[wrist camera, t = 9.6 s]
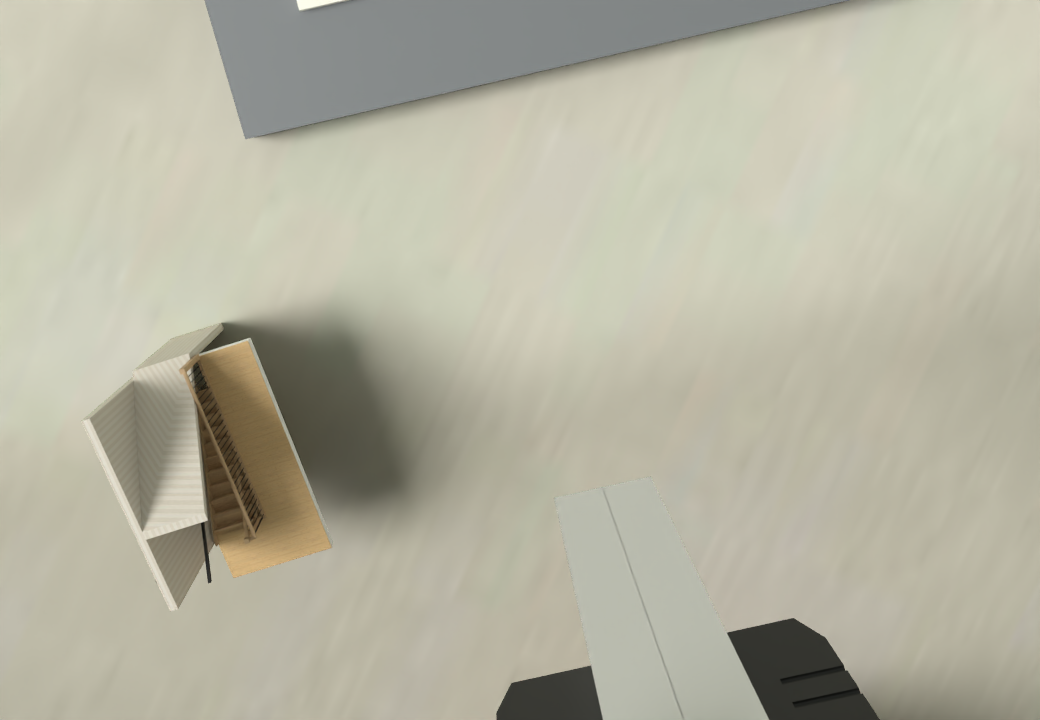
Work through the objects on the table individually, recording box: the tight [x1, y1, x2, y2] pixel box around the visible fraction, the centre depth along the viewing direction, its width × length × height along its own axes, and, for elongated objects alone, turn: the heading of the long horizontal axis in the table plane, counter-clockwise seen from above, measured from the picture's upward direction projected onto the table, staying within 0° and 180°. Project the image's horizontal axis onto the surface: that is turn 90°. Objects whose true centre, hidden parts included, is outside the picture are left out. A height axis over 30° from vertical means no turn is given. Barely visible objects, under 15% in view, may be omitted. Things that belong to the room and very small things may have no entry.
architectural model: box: [81, 323, 333, 611], centre depth 28 cm, size 3×7×7 cm, turn 17°
